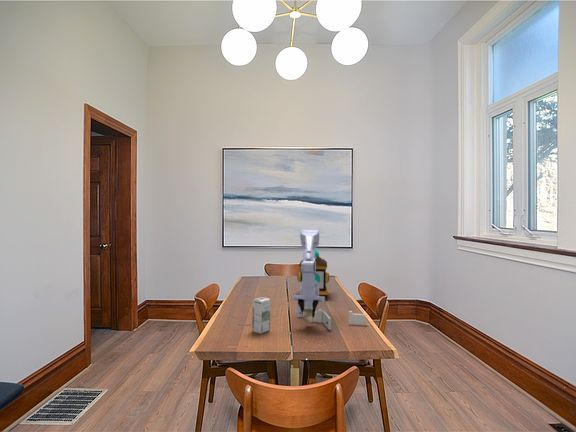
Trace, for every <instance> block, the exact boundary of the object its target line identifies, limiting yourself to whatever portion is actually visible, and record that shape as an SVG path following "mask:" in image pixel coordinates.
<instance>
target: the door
mask: <svg viewBox="0 0 576 432" xmlns="http://www.w3.org/2000/svg"><path fill="white" fill-rule="evenodd" d="M322 322H323V325H325V327H326V328H327V330H329V331H331V330H332V318H331V317H330V315H328V313H327V312H326V311H324V310H322Z"/></svg>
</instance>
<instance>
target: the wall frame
mask: <svg viewBox="0 0 576 432" xmlns="http://www.w3.org/2000/svg"><path fill="white" fill-rule="evenodd" d="M322 322H323V309H320V308H319V309H318V310H317V311H315V315H314V318H313V321H312V323H319V324H321V323H322ZM348 325H349V326H366V313H365V314H364V313H353V311H352V310H350V311H348Z"/></svg>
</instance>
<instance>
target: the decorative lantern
mask: <svg viewBox="0 0 576 432" xmlns="http://www.w3.org/2000/svg"><path fill="white" fill-rule="evenodd" d="M314 252H315V262H316V272H315V271H314V273H315V280H316V281H317V282H318V283H319V296H322V297H324V301H327V300H328V287H327V285H326V284H328V283H329V282H330V279H331V278H330V273H329V272H328V271H327V268H328V262H327V260H325V258H324V259H323V258H322V257H320V252H319V251H318V250H317V249H316V248H315V250H314ZM302 262H303V259H301V261H300V262H299V265H298V268H299V269H300V271H299V272H298V273H297V276H296V277H297V278H296V279H297V282H298V283H301V282H302V272H301V263H302ZM326 271H327V272H326ZM315 286H316V285H315ZM297 295H300V290H299V291H298V294H297Z"/></svg>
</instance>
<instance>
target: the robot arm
mask: <svg viewBox="0 0 576 432" xmlns="http://www.w3.org/2000/svg"><path fill="white" fill-rule="evenodd" d="M299 237H300V244H301V247H303V248H305V249H304V250H303V252H302V260H303V262H302V263H301V270H300V272H302V282H299V283H300V284H299V291H300V295H298V294H293V295H292V299H291V300H292V301H297V318H303V311H304V309H305V307H311V308H313V313H312V317H314V315H315V311H318V310H317V309H318V308H317V307H318V305H319V302H322V303H324V302H325V297H324V296H319V283H318V282H317V281H316V280H315V273H314V271H315V272H316V262H315V252H314V250H315V249H316V248H317V247H319V245H320V230H319V229H303V228H302V229H301V230H300V236H299ZM315 285H316V286H315Z"/></svg>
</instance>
